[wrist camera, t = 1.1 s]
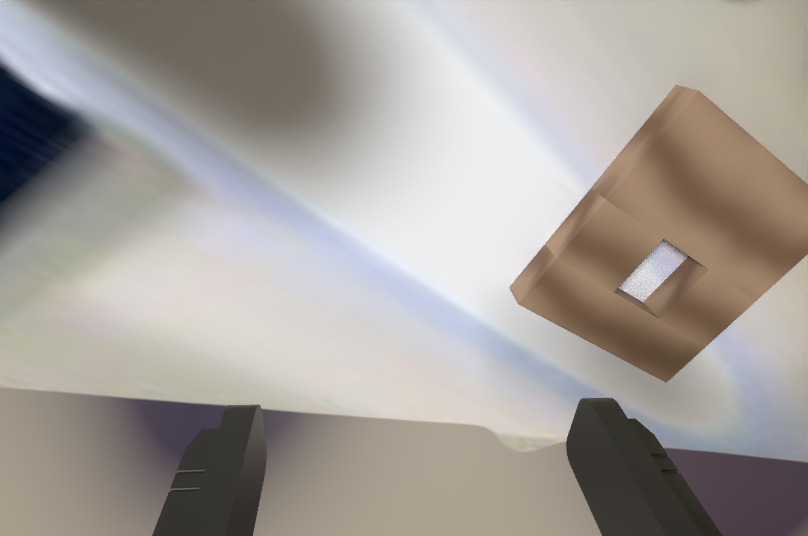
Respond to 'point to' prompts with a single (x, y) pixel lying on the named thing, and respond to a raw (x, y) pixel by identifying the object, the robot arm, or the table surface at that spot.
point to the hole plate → (672, 238)
